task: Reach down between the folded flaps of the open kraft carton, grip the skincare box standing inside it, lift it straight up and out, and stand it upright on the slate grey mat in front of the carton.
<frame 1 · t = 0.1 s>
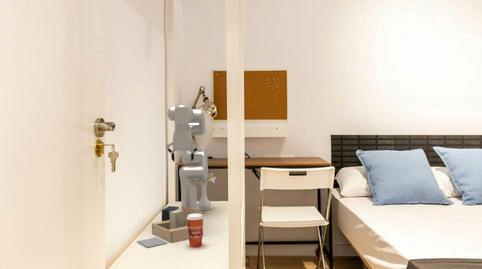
hand: (182, 161, 197), 37 cm above the table, tool pointing down, fingers open, 9 cm apart
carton: (177, 234, 190), on the table
small box: (170, 227, 207), on the table
paper cup: (195, 245, 172), on the table
mat: (152, 243, 177), on the table
flower vase: (203, 210, 249), on the table
skincare box: (177, 234, 190), resting in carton
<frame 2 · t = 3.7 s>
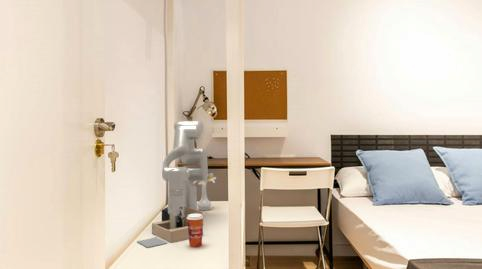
hand: (176, 227, 190), 3 cm above the table, tool pointing down, fingers closed on skincare box, 5 cm apart
skincare box: (177, 234, 190), resting in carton, touching gripper
everything else where it was.
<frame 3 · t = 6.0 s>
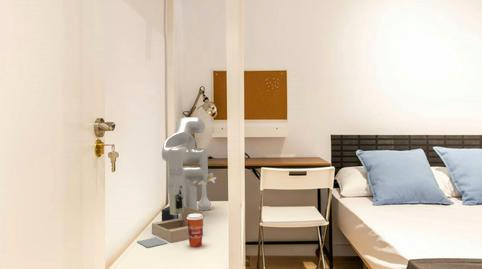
hand: (176, 207, 191), 14 cm above the table, tool pointing down, fingers closed on skincare box, 5 cm apart
skincare box: (176, 214, 191), point 10 cm above the table, touching gripper
everything else where it was.
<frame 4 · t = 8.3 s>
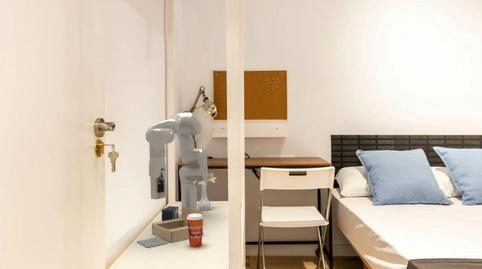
hand: (158, 191, 180), 24 cm above the table, tool pointing down, fingers closed on skincare box, 5 cm apart
skincare box: (158, 198, 180), point 20 cm above the table, touching gripper
everything else where it was.
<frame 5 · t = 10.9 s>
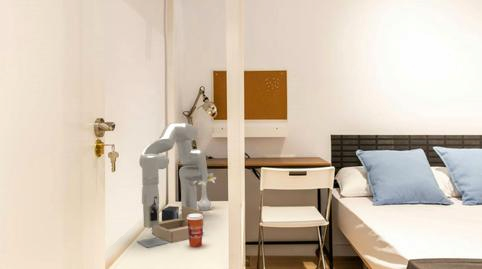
hand: (151, 219, 177), 11 cm above the table, tool pointing down, fingers closed on skincare box, 5 cm apart
skincare box: (151, 226, 177), point 8 cm above the table, touching gripper
everything else where it was.
when the fingers open (4 cm above the table, at t = 13.1 s): skincare box stays where it is, resting on mat.
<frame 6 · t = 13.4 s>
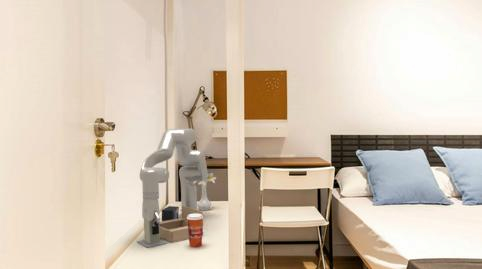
hand: (151, 232, 177), 5 cm above the table, tool pointing down, fingers open, 8 cm apart
skincare box: (152, 242, 177), resting on mat
everything else where it was.
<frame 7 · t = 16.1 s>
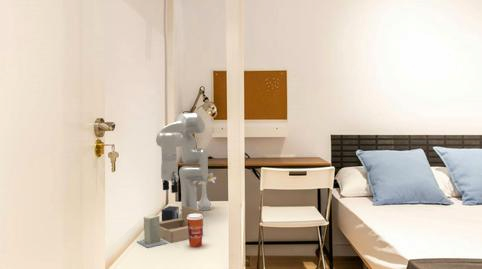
hand: (170, 191, 189), 23 cm above the table, tool pointing down, fingers open, 9 cm apart
nothing on the table moved.
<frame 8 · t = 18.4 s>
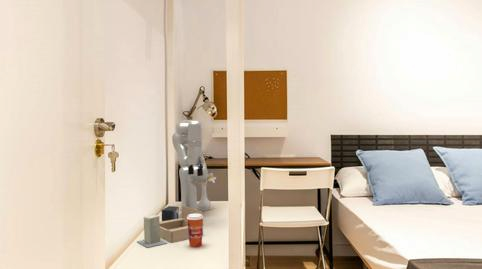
hand: (195, 175, 208), 28 cm above the table, tool pointing down, fingers open, 9 cm apart
nothing on the table moved.
at the end: skincare box inside the target area on the mat (0.2 cm from its centre), point 0.3 cm above the mat's base; skincare box tilted 0°; skincare box touching mat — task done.
